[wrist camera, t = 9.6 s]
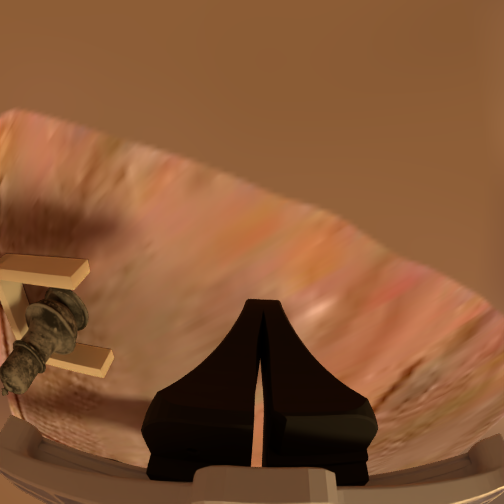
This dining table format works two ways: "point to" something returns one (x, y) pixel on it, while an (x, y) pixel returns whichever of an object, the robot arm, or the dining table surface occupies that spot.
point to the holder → (50, 275)
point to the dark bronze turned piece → (43, 338)
